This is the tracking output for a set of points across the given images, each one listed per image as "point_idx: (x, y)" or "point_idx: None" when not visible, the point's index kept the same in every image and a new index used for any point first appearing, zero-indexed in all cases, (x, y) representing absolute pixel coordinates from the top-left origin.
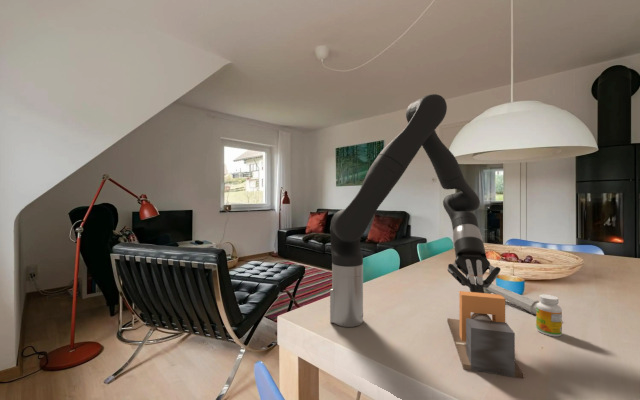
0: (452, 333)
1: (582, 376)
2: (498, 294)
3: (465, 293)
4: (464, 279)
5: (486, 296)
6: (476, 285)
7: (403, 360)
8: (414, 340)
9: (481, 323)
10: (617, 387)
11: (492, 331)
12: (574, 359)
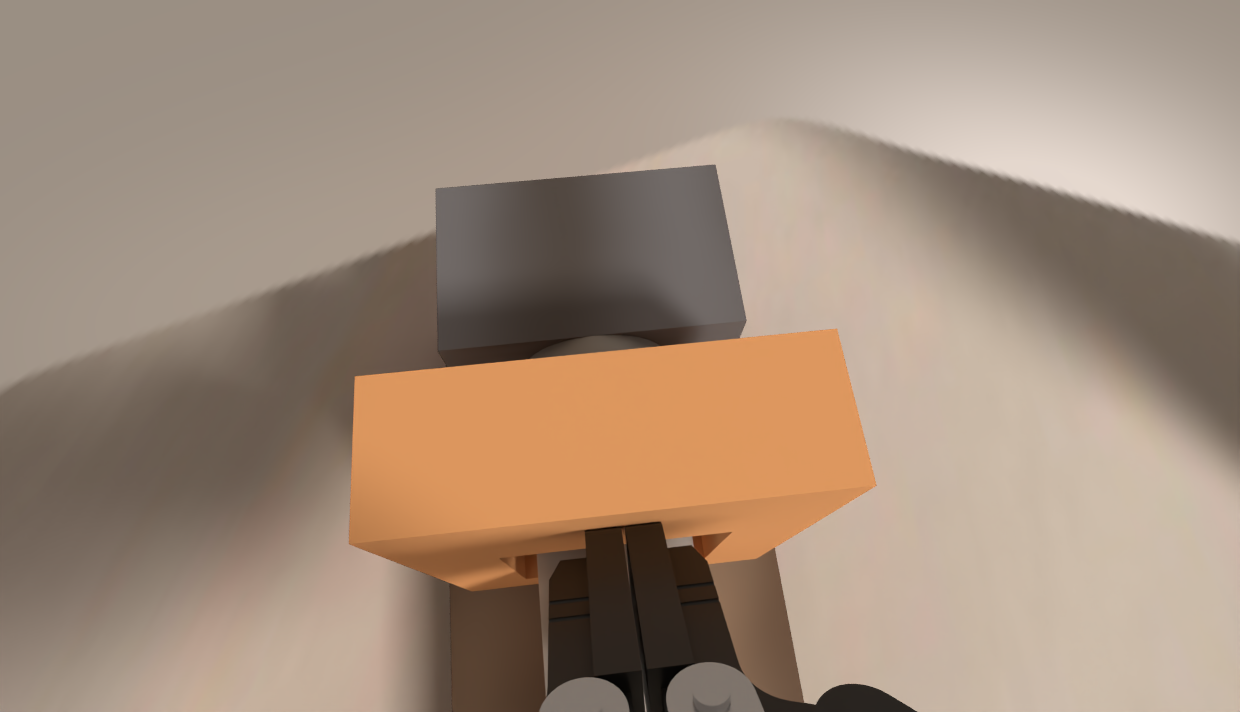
0: (801, 693)
1: (128, 467)
2: (381, 537)
3: (797, 403)
4: (867, 695)
5: (557, 382)
6: (651, 662)
7: (1007, 263)
8: (1027, 512)
9: (636, 260)
10: (16, 424)
11: (576, 180)
12: (36, 679)
